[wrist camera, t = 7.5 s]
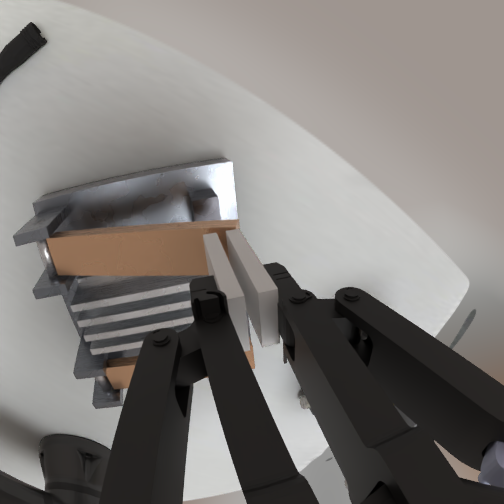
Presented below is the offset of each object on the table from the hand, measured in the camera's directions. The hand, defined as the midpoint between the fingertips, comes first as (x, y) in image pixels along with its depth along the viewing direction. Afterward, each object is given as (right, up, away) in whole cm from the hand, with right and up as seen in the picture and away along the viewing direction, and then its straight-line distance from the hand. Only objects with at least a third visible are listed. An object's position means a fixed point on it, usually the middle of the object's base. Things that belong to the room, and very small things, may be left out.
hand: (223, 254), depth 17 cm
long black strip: (-25, +16, +1) cm, 29 cm away
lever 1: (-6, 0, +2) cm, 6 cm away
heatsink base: (-9, -2, +13) cm, 16 cm away
